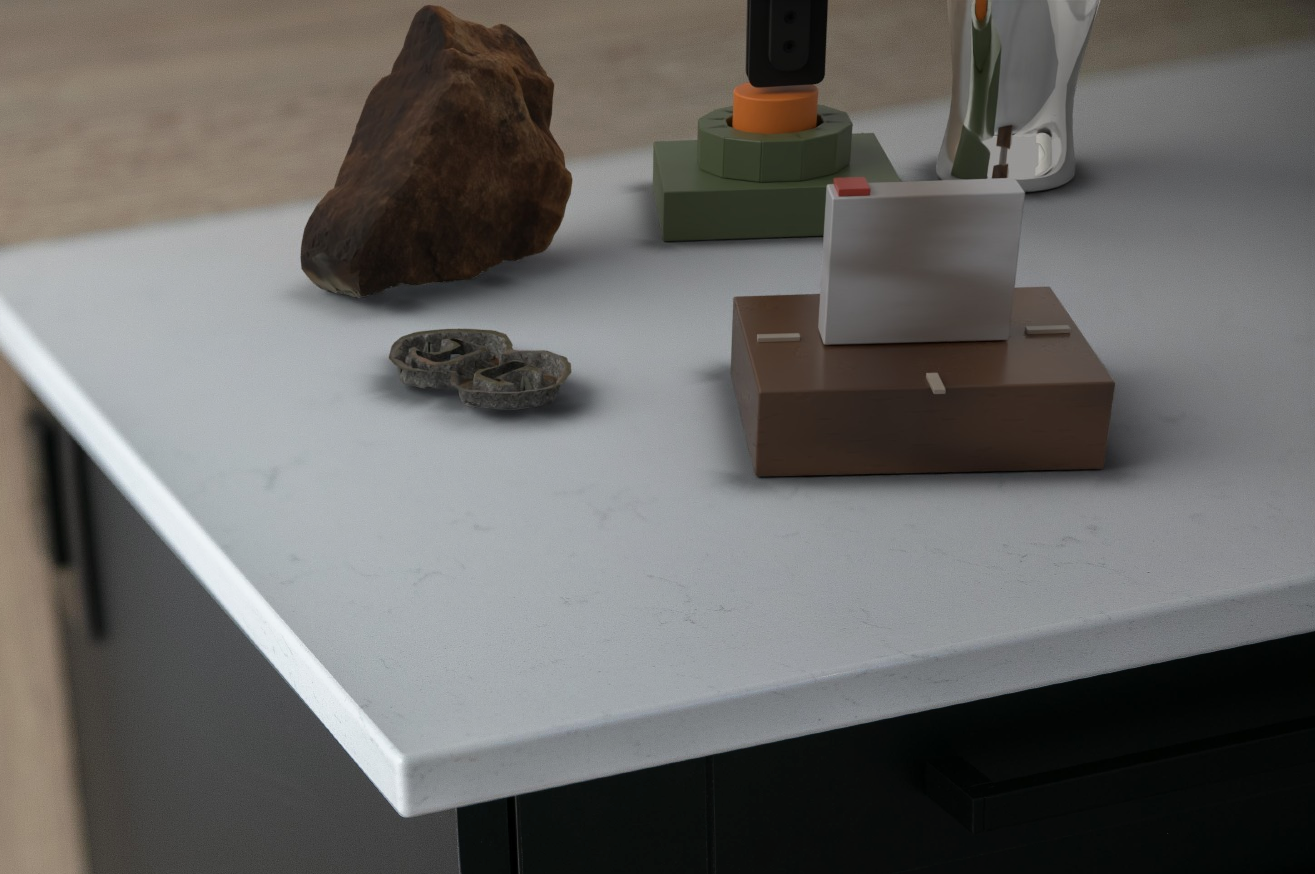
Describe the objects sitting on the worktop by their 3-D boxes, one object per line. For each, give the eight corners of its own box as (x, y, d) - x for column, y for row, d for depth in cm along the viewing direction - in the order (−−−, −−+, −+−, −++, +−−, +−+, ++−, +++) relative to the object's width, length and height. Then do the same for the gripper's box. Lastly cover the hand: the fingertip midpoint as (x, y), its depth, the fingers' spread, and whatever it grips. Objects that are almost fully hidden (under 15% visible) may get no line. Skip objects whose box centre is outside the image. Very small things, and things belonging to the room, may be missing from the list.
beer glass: (920, 194, 89) (950, -162, 82) (930, 151, 95) (960, -186, 88) (1084, 199, 87) (1130, -166, 80) (1084, 155, 93) (1128, -190, 86)
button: (810, 116, 88) (812, 77, 88) (821, 138, 85) (823, 97, 84) (728, 120, 89) (730, 80, 88) (736, 141, 86) (737, 101, 85)
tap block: (1037, 359, 72) (1047, 275, 70) (1109, 477, 63) (1122, 384, 61) (728, 368, 73) (731, 285, 71) (756, 485, 64) (761, 394, 63)
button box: (870, 179, 92) (877, 92, 90) (899, 233, 85) (906, 140, 83) (652, 188, 93) (653, 102, 91) (662, 241, 86) (664, 150, 84)
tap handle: (999, 323, 67) (1016, 169, 64) (1009, 340, 65) (1026, 184, 63) (817, 328, 67) (826, 176, 65) (823, 345, 66) (832, 191, 63)
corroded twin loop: (501, 433, 69) (501, 405, 68) (358, 374, 74) (356, 348, 74) (605, 392, 71) (605, 365, 71) (458, 339, 77) (457, 313, 76)
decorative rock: (517, 228, 89) (513, -22, 84) (599, 261, 84) (600, -1, 79) (284, 286, 84) (264, 26, 79) (358, 325, 79) (342, 51, 74)
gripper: (933, -399, 70) (901, 121, 79) (869, -409, 83) (848, 38, 92) (718, -381, 71) (710, 131, 80) (688, -394, 84) (684, 48, 93)
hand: (784, 80), depth 86 cm, fingers closed
